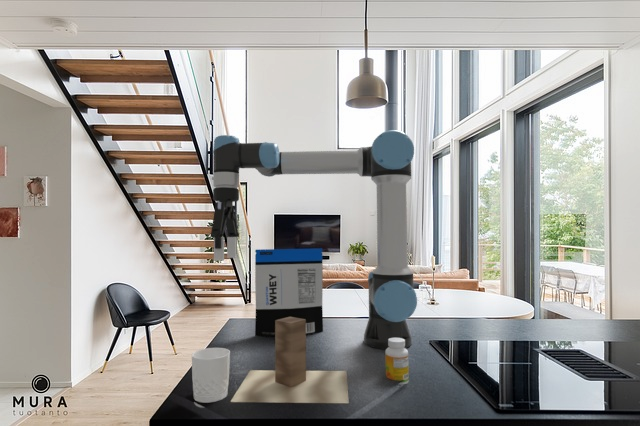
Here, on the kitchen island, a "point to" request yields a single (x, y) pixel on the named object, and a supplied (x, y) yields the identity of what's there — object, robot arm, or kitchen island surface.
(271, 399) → the board
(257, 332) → the protein powder
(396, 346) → the supplement bottle
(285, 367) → the block
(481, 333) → the kitchen island surface
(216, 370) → the white cup
